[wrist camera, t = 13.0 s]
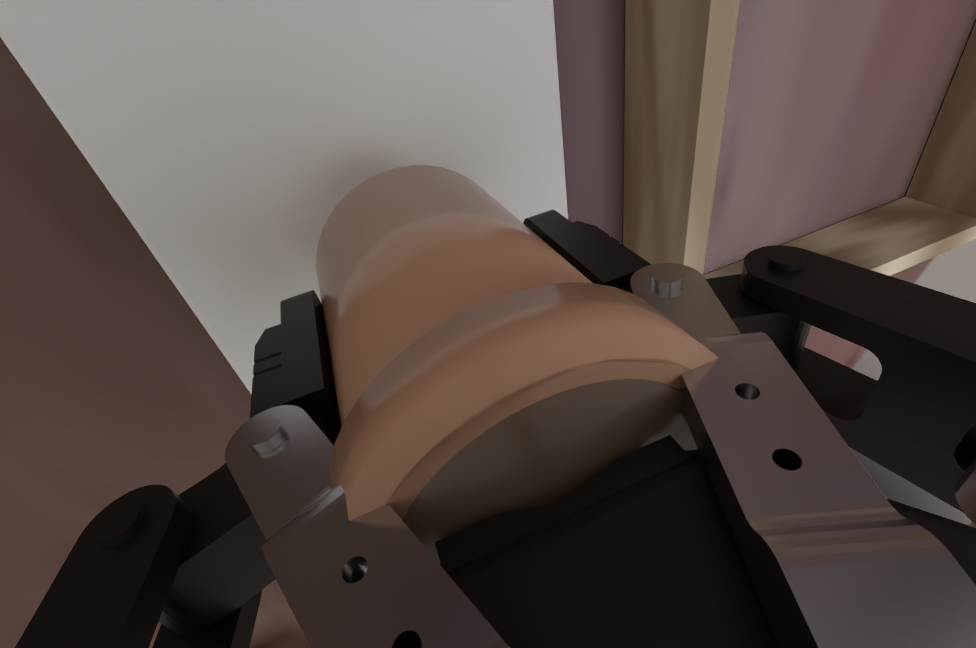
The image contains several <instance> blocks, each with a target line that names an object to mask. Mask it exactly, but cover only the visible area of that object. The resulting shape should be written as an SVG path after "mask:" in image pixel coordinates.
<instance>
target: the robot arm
mask: <svg viewBox="0 0 976 648" xmlns="http://www.w3.org/2000/svg"><path fill="white" fill-rule="evenodd" d="M523 224H524V225H526V226H527V227H528V228H529V229H530V230H531V231H533V232H534V233H535V234H536V235H537V236H538V237H540V238H541V239H542V240H543V241H544V242H545V243H547V244H548V245H549V246H550V247H551V248H552V249H554V250H555V251H556V252H557V253H558V254H559V255H561V256H562V257H563V258H564V259H565V260H566V261H568V262H569V263H570V264H571V265H572V266H573V267H575V268H576V269H577V270H578V271H579V272H580V273H582V274H583V275H584V276H585V277H586V278H587V279H589V280H590V281H591V282H592V283H595V284H600V285H606V286H611V287H616V288H619V289H621V290H624V291H627V292H630V293H632V294H635V295H637V296H638V297H640V298H642V299H643V300H645V301H646V302H648V303H650V304H651V305H653V306H654V307H655V308H656V309H658V310H659V311H660V312H661V313H663V314H664V315H665V316H667V317H668V318H669V319H670V320H672V321H673V322H674V323H676V324H677V325H678V326H679V327H681V328H682V329H683V330H684V331H686V332H687V333H688V334H690V335H691V336H692V337H693V338H695V339H696V340H697V341H699V342H700V343H701V344H702V345H704V346H705V347H706V348H708V349H709V350H710V351H711V352H713V353H714V354H715V355H716V356H717V357H718V358H717V359H715V360H713V361H710V362H708V363H706V364H703V365H701V366H699V367H697V368H694V369H692V370H690V371H688V372H685V373H683V374H682V375H681V384H680V391H681V392H682V394H683V397H682V406H681V414H682V416H683V417H684V418H685V420H686V422H687V424H688V427H689V429H690V431H691V434H692V436H693V439H694V441H695V444H696V446H697V448H698V449H694V450H686V451H685V450H684V449H683V448H682V447H681V446H680V445H679V444H678V443H677V442H676V440H675V439H674V438H673V437H672V436H671V435H668V436H666V437H664V438H661V439H659V440H657V441H655V442H653V443H650V444H648V445H646V446H644V447H642V448H640V449H637V450H635V451H633V452H631V453H629V454H626V455H624V456H622V457H620V458H618V459H616V460H615V461H614V462H612V463H611V464H610V465H609V466H608V467H606V468H605V469H604V470H603V471H602V472H600V473H599V474H598V475H597V476H596V477H594V478H593V479H592V480H591V481H590V482H588V483H587V484H586V485H585V486H584V487H582V488H581V489H580V490H579V491H578V492H576V493H575V494H574V495H573V496H571V497H570V498H568V499H566V500H564V501H561V502H556V503H551V504H545V505H540V506H535V507H530V508H525V509H519V510H514V511H509V512H504V513H498V514H495V515H493V516H491V517H489V518H487V519H484V520H482V521H480V522H478V523H476V524H474V525H471V526H469V527H467V528H465V529H463V530H460V531H458V532H456V533H454V534H452V535H449V536H447V537H445V538H443V539H441V540H439V541H436V542H435V545H436V549H437V552H438V556H439V559H440V563H438V562H437V561H436V560H435V558H434V557H433V556H432V555H431V554H430V553H429V551H428V550H427V549H426V548H425V547H424V545H423V544H422V543H421V542H420V541H419V540H418V538H417V537H416V536H415V535H414V534H413V532H412V531H411V530H410V529H409V528H408V526H407V525H406V524H405V523H404V522H403V521H402V519H401V518H400V517H399V516H398V515H397V513H396V512H395V511H394V510H393V509H392V508H391V506H390V505H389V504H386V505H384V506H381V507H379V508H377V509H375V510H372V511H370V512H368V513H366V514H363V515H361V516H359V517H357V518H354V519H352V520H350V521H349V518H348V511H347V504H346V497H345V492H344V490H343V488H342V486H340V485H337V486H336V487H335V488H333V489H332V490H331V489H330V480H329V472H328V471H329V463H330V459H331V455H332V452H333V448H334V444H335V442H336V439H337V437H338V435H339V432H340V430H341V422H340V415H339V409H338V403H337V397H336V391H335V384H334V378H333V372H332V366H331V359H330V353H329V347H328V341H327V335H326V328H325V322H324V316H323V310H322V304H321V302H320V300H319V298H318V296H317V294H316V293H315V291H314V290H311V291H308V292H305V293H303V294H300V295H297V296H294V297H291V298H288V299H285V300H282V301H281V302H280V317H281V324H279V325H276V326H273V327H270V328H267V329H265V330H264V332H263V334H262V335H261V337H260V338H259V340H258V342H257V343H256V345H255V350H254V363H255V364H254V365H253V375H254V377H253V380H252V395H251V410H250V419H249V420H248V421H247V422H245V423H244V424H243V425H242V426H241V427H240V428H239V429H238V430H237V431H236V432H235V434H234V435H233V436H232V438H231V439H230V441H229V443H228V445H227V448H226V451H225V461H226V463H225V464H224V465H223V466H222V467H221V468H219V469H218V470H217V471H215V472H214V473H212V474H211V475H209V476H208V477H206V478H205V479H203V480H201V481H200V482H198V483H197V484H195V485H194V486H192V487H191V488H189V489H188V490H186V491H184V492H183V493H181V494H180V495H178V496H177V495H176V494H175V493H174V492H173V491H172V490H171V489H170V488H168V487H166V486H163V485H149V486H144V487H141V488H138V489H135V490H133V491H131V492H129V493H127V494H125V495H123V496H121V497H120V498H118V499H117V500H115V501H113V502H112V503H111V504H109V505H108V506H107V507H106V508H104V509H103V510H102V511H101V512H100V513H99V514H98V515H97V516H96V517H95V518H94V519H93V520H92V521H91V522H90V523H89V524H88V526H87V527H86V528H85V529H84V531H83V532H82V534H81V535H80V537H79V538H78V540H77V542H76V543H75V545H74V547H73V549H72V550H71V552H70V554H69V555H68V557H67V559H66V561H65V562H64V564H63V566H62V568H61V569H60V571H59V573H58V574H57V576H56V578H55V580H54V581H53V583H52V585H51V587H50V588H49V590H48V592H47V593H46V595H45V597H44V599H43V600H42V602H41V604H40V605H39V607H38V609H37V611H36V612H35V614H34V616H33V618H32V619H31V621H30V623H29V624H28V626H27V628H26V630H25V631H24V633H23V635H22V637H21V638H20V640H19V642H18V643H17V645H16V647H15V648H149V645H150V642H151V640H152V637H153V635H154V632H155V629H156V627H157V624H158V622H160V623H161V626H160V629H159V632H158V634H157V637H156V640H155V642H154V645H153V648H249V646H250V642H251V638H252V633H253V629H254V625H255V620H256V616H257V612H258V607H259V603H260V599H261V593H262V589H263V588H265V587H266V586H267V585H268V584H270V583H271V582H272V581H274V580H275V579H276V580H277V582H278V584H279V586H280V588H281V590H282V592H283V594H284V596H285V598H286V600H287V602H288V604H289V606H290V608H291V610H292V612H293V614H294V616H295V618H296V620H297V622H298V624H299V626H300V628H301V630H302V632H303V634H304V636H305V638H306V640H307V642H308V644H309V646H310V648H976V303H973V302H970V301H967V300H963V299H960V298H957V297H954V296H951V295H948V294H945V293H941V292H938V291H935V290H932V289H929V288H925V287H922V286H919V285H916V284H913V283H910V282H907V281H904V280H901V279H897V278H894V277H891V276H888V275H885V274H882V273H879V272H875V271H872V270H869V269H866V268H863V267H860V266H857V265H853V264H850V263H847V262H844V261H841V260H838V259H834V258H831V257H828V256H825V255H822V254H819V253H816V252H812V251H809V250H806V249H802V248H798V247H793V246H767V247H762V248H758V249H756V250H753V251H751V252H750V253H749V254H747V255H746V257H745V259H744V262H743V268H742V273H741V274H736V275H729V276H722V277H716V278H709V279H705V278H704V276H703V275H702V274H701V273H700V272H699V271H697V270H695V269H694V268H691V267H689V266H686V265H682V264H677V263H657V264H652V265H651V264H650V263H649V262H647V261H646V260H644V259H643V258H641V257H640V256H638V255H637V254H636V253H634V252H633V251H631V250H630V249H628V248H627V247H625V246H624V245H623V244H619V242H618V241H617V240H615V239H614V238H612V237H609V235H608V234H607V233H605V232H604V231H602V230H601V229H599V228H598V227H597V226H594V225H590V224H586V223H583V222H579V221H577V222H574V223H572V222H570V221H569V220H568V219H566V218H565V217H564V216H562V215H561V214H560V213H558V212H557V211H555V210H553V209H552V210H549V211H546V212H543V213H540V214H537V215H534V216H531V217H528V218H526V219H525V220H524V222H523ZM811 325H813V326H815V327H817V328H820V329H822V330H824V331H827V332H829V333H831V334H834V335H836V336H838V337H841V338H843V339H845V340H848V341H850V342H852V343H855V344H857V345H859V346H862V347H864V348H866V349H868V350H869V351H871V352H872V353H873V354H875V356H876V357H877V358H878V359H879V361H880V363H881V365H882V373H881V376H880V378H879V380H878V381H877V380H874V379H872V378H870V377H868V376H865V375H863V374H861V373H859V372H857V371H855V370H853V369H850V368H848V367H846V366H844V365H842V364H840V363H838V362H835V361H833V360H831V359H829V358H827V357H825V356H822V355H820V354H818V353H816V352H814V351H812V350H810V349H807V348H805V347H804V346H805V343H806V340H807V336H808V333H809V330H810V327H811ZM849 447H850V448H852V449H854V450H856V451H857V452H859V453H861V454H863V455H864V456H866V457H868V458H870V459H871V460H873V461H875V462H877V463H878V464H880V465H882V466H883V467H885V468H887V469H889V470H891V471H892V472H894V473H896V474H897V475H899V476H901V477H903V478H904V479H906V480H908V481H910V482H911V483H913V484H915V485H916V486H918V487H920V488H922V489H923V490H925V491H927V492H929V493H930V494H932V495H934V496H936V497H937V498H939V499H941V500H942V501H944V502H946V503H948V504H949V505H951V506H953V507H955V508H956V509H958V510H960V511H962V512H963V513H965V514H966V516H967V517H968V518H969V519H970V520H971V521H972V522H971V523H970V525H969V526H968V525H965V524H962V523H959V522H956V521H953V520H950V519H947V518H944V517H941V516H938V515H935V514H932V513H929V512H926V511H923V510H920V509H917V508H914V507H910V506H907V505H905V504H901V503H898V502H896V501H892V500H889V499H886V497H885V496H884V494H883V493H882V492H881V490H880V489H879V488H878V486H877V485H876V483H875V482H874V481H873V479H872V478H871V477H870V475H869V474H868V473H867V471H866V470H865V468H864V467H863V465H862V464H861V463H860V461H859V460H858V459H857V457H856V456H855V454H854V453H853V452H852V450H851V449H850V448H849Z"/></svg>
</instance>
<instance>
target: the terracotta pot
mask: <svg viewBox="0 0 976 648" xmlns="http://www.w3.org/2000/svg"><path fill="white" fill-rule="evenodd" d="M316 270H317V278H318V285H319V291H320V297H321V303H322V310H323V316H324V322H325V328H326V335H327V341H328V347H329V353H330V359H331V366H332V372H333V378H334V384H335V391H336V397H337V403H338V409H339V415H340V422H341V430H340V432H339V435H338V437H337V439H336V442H335V444H334V448H333V452H332V455H331V459H330V463H329V471H328V472H329V480H330V489H331V490H332V489H333V488H335V487H336V486H337V485H340V486H342V488H343V490H344V492H345V497H346V504H347V511H348V518H349V521H350V520H352V519H354V518H357V517H359V516H361V515H363V514H366V513H368V512H370V511H372V510H375V509H377V508H379V507H381V506H384V505H386V504H389V505H390V506H391V508H392V509H393V510H394V511H395V512H396V513H397V515H398V516H399V517H400V518H401V519H402V521H403V522H404V523H405V524H406V525H407V526H408V528H409V529H410V530H411V531H412V532H413V534H414V535H415V536H416V537H417V538H418V540H419V541H420V542H421V543H422V544H423V545H424V547H425V548H426V549H427V550H428V551H429V553H430V554H431V555H432V556H433V557H434V558H435V560H436V561H437V562H438V563H440V559H439V556H438V552H437V549H436V545H435V542H436V541H439V540H441V539H443V538H445V537H447V536H449V535H452V534H454V533H456V532H458V531H460V530H463V529H465V528H467V527H469V526H471V525H474V524H476V523H478V522H480V521H482V520H484V519H487V518H489V517H491V516H493V515H495V514H498V513H504V512H509V511H514V510H519V509H525V508H530V507H535V506H540V505H545V504H551V503H556V502H561V501H564V500H566V499H568V498H570V497H571V496H573V495H574V494H575V493H576V492H578V491H579V490H580V489H581V488H582V487H584V486H585V485H586V484H587V483H588V482H590V481H591V480H592V479H593V478H594V477H596V476H597V475H598V474H599V473H600V472H602V471H603V470H604V469H605V468H606V467H608V466H609V465H610V464H611V463H612V462H614V461H615V460H616V459H618V458H620V457H622V456H624V455H626V454H629V453H631V452H633V451H635V450H637V449H640V448H642V447H644V446H646V445H648V444H650V443H653V442H655V441H657V440H659V439H661V438H664V437H666V436H668V435H671V436H672V437H673V438H674V439H675V440H676V442H677V443H678V444H679V445H680V446H681V447H682V448H683V449H684V450H685V451H686V450H694V449H698V448H697V446H696V444H695V441H694V439H693V436H692V434H691V431H690V429H689V427H688V424H687V422H686V420H685V418H684V417H683V416H682V414H681V406H682V397H683V394H682V392H681V391H680V384H681V375H682V374H683V373H685V372H688V371H690V370H692V369H694V368H697V367H699V366H701V365H703V364H706V363H708V362H710V361H713V360H715V359H717V358H718V357H717V356H716V355H715V354H714V353H713V352H711V351H710V350H709V349H708V348H706V347H705V346H704V345H702V344H701V343H700V342H699V341H697V340H696V339H695V338H693V337H692V336H691V335H690V334H688V333H687V332H686V331H684V330H683V329H682V328H681V327H679V326H678V325H677V324H676V323H674V322H673V321H672V320H670V319H669V318H668V317H667V316H665V315H664V314H663V313H661V312H660V311H659V310H658V309H656V308H655V307H654V306H653V305H651V304H650V303H648V302H646V301H645V300H643V299H642V298H640V297H638V296H637V295H635V294H632V293H630V292H627V291H624V290H621V289H619V288H616V287H611V286H606V285H600V284H595V283H592V282H591V281H590V280H589V279H587V278H586V277H585V276H584V275H583V274H582V273H580V272H579V271H578V270H577V269H576V268H575V267H573V266H572V265H571V264H570V263H569V262H568V261H566V260H565V259H564V258H563V257H562V256H561V255H559V254H558V253H557V252H556V251H555V250H554V249H552V248H551V247H550V246H549V245H548V244H547V243H545V242H544V241H543V240H542V239H541V238H540V237H538V236H537V235H536V234H535V233H534V232H533V231H531V230H530V229H529V228H528V227H527V226H526V225H524V224H523V223H522V222H521V221H520V220H519V219H517V218H516V217H515V216H514V215H513V214H512V213H511V212H509V211H508V210H507V209H506V208H505V207H504V206H502V205H501V204H500V203H499V202H498V201H497V200H495V199H494V198H493V197H492V196H491V195H490V194H488V193H487V192H486V191H485V190H484V189H483V188H481V187H480V186H479V185H478V184H477V183H476V182H474V181H472V180H471V179H469V178H468V177H466V176H464V175H462V174H460V173H457V172H455V171H453V170H449V169H446V168H442V167H437V166H429V165H411V166H404V167H398V168H394V169H390V170H387V171H384V172H382V173H379V174H377V175H375V176H372V177H370V178H369V179H367V180H365V181H364V182H362V183H360V184H359V185H358V186H356V187H355V188H354V189H353V190H351V191H350V192H349V193H348V194H347V195H346V196H345V197H344V198H343V199H342V200H341V201H340V202H339V203H338V204H337V206H336V207H335V208H334V210H333V211H332V213H331V214H330V215H329V217H328V219H327V221H326V223H325V225H324V227H323V230H322V233H321V235H320V238H319V242H318V247H317V253H316Z"/></svg>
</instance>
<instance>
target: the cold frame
mask: <svg viewBox="0 0 976 648" xmlns="http://www.w3.org/2000/svg"><path fill="white" fill-rule="evenodd" d="M739 5H740V0H626V11H625V105H624V200H623V245H624V246H625V247H627V248H628V249H630V250H631V251H633V252H634V253H636V254H637V255H638V256H640V257H641V258H643V259H644V260H646V261H647V262H649V263H650V264H651V265H652V264H657V263H677V264H682V265H686V266H689V267H691V268H694V269H695V270H697V271H699V272H700V273H701V274H702V275H703V270H704V263H705V255H706V248H707V241H708V233H709V226H710V219H711V211H712V204H713V196H714V189H715V182H716V174H717V167H718V160H719V152H720V145H721V138H722V130H723V123H724V116H725V108H726V101H727V93H728V86H729V79H730V71H731V64H732V57H733V49H734V42H735V35H736V27H737V20H738V13H739ZM975 239H976V22H975V25H974V27H973V30H972V32H971V35H970V37H969V40H968V42H967V45H966V47H965V50H964V52H963V55H962V57H961V60H960V62H959V65H958V67H957V70H956V72H955V75H954V77H953V79H952V82H951V84H950V87H949V89H948V92H947V94H946V97H945V99H944V102H943V104H942V107H941V109H940V112H939V114H938V117H937V119H936V122H935V124H934V127H933V129H932V132H931V134H930V136H929V139H928V141H927V144H926V146H925V149H924V151H923V154H922V156H921V159H920V161H919V164H918V166H917V169H916V171H915V174H914V176H913V179H912V181H911V184H910V186H909V189H908V191H907V194H906V196H905V197H903V198H900V199H898V200H895V201H893V202H890V203H887V204H885V205H882V206H880V207H877V208H875V209H872V210H869V211H867V212H864V213H862V214H859V215H857V216H854V217H851V218H849V219H846V220H844V221H841V222H839V223H836V224H833V225H831V226H828V227H826V228H823V229H821V230H818V231H816V232H813V233H810V234H808V235H805V236H803V237H800V238H798V239H795V240H792V241H790V242H787V243H785V244H782V245H780V246H793V247H798V248H802V249H806V250H809V251H812V252H816V253H819V254H822V255H825V256H828V257H831V258H834V259H838V260H841V261H844V262H847V263H850V264H853V265H857V266H860V267H863V268H866V269H869V270H872V271H875V272H879V273H882V274H885V275H888V276H890V275H893V274H895V273H897V272H900V271H902V270H904V269H907V268H909V267H911V266H914V265H916V264H918V263H921V262H923V261H925V260H928V259H930V258H932V257H935V256H937V255H939V254H942V253H944V252H947V251H949V250H951V249H954V248H956V247H958V246H961V245H963V244H965V243H968V242H970V241H972V240H975ZM743 262H744V260H741V261H738V262H736V263H733V264H731V265H728V266H726V267H723V268H720V269H718V270H715V271H713V272H710V273H708V274H705V275H703V276H704V278H705V279H709V278H716V277H722V276H729V275H736V274H741V273H742V268H743Z"/></svg>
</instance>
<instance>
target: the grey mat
mask: <svg viewBox="0 0 976 648" xmlns="http://www.w3.org/2000/svg"><path fill="white" fill-rule="evenodd" d="M0 37H1V39H2V40H3V41H4V43H5V44H6V46H7V47H8V49H9V50H10V51H11V53H12V54H13V56H14V57H15V59H16V60H17V61H18V63H19V64H20V66H21V67H22V68H23V70H24V71H25V73H26V74H27V76H28V77H29V78H30V80H31V81H32V83H33V84H34V86H35V87H36V88H37V90H38V91H39V93H40V94H41V96H42V97H43V98H44V100H45V101H46V103H47V104H48V106H49V107H50V108H51V110H52V111H53V113H54V114H55V115H56V117H57V118H58V120H59V121H60V123H61V124H62V125H63V127H64V128H65V130H66V131H67V133H68V134H69V135H70V137H71V138H72V140H73V141H74V143H75V144H76V145H77V147H78V148H79V150H80V151H81V153H82V154H83V155H84V157H85V158H86V160H87V161H88V162H89V164H90V165H91V167H92V168H93V170H94V171H95V172H96V174H97V175H98V177H99V178H100V180H101V181H102V182H103V184H104V185H105V187H106V188H107V190H108V191H109V192H110V194H111V195H112V197H113V198H114V200H115V201H116V202H117V204H118V205H119V207H120V208H121V210H122V211H123V212H124V214H125V215H126V217H127V218H128V219H129V221H130V222H131V224H132V225H133V227H134V228H135V229H136V231H137V232H138V234H139V235H140V237H141V238H142V239H143V241H144V242H145V244H146V245H147V247H148V248H149V249H150V251H151V252H152V254H153V255H154V257H155V258H156V259H157V261H158V262H159V264H160V265H161V266H162V268H163V269H164V271H165V272H166V274H167V275H168V276H169V278H170V279H171V281H172V282H173V284H174V285H175V286H176V288H177V289H178V291H179V292H180V294H181V295H182V296H183V298H184V299H185V301H186V302H187V304H188V305H189V306H190V308H191V309H192V311H193V312H194V313H195V315H196V316H197V318H198V319H199V321H200V322H201V323H202V325H203V326H204V328H205V329H206V331H207V332H208V333H209V335H210V336H211V338H212V339H213V341H214V342H215V343H216V345H217V346H218V348H219V349H220V351H221V352H222V353H223V355H224V356H225V358H226V359H227V360H228V362H229V363H230V365H231V366H232V368H233V369H234V370H235V372H236V373H237V375H238V376H239V378H240V379H241V380H242V382H243V383H244V385H245V386H246V388H247V389H248V390H249V392H250V393H251V395H252V380H253V377H254V375H253V365H254V364H255V363H254V350H255V345H256V343H257V342H258V340H259V338H260V337H261V335H262V334H263V332H264V330H265V329H267V328H270V327H273V326H276V325H279V324H281V317H280V302H281V301H282V300H285V299H288V298H291V297H294V296H297V295H300V294H303V293H305V292H308V291H311V290H314V291H315V293H316V294H317V296H318V298H319V300H320V302H321V297H320V291H319V285H318V278H317V270H316V253H317V247H318V242H319V238H320V235H321V233H322V230H323V227H324V225H325V223H326V221H327V219H328V217H329V215H330V214H331V213H332V211H333V210H334V208H335V207H336V206H337V204H338V203H339V202H340V201H341V200H342V199H343V198H344V197H345V196H346V195H347V194H348V193H349V192H350V191H351V190H353V189H354V188H355V187H356V186H358V185H359V184H360V183H362V182H364V181H365V180H367V179H369V178H370V177H372V176H375V175H377V174H379V173H382V172H384V171H387V170H390V169H394V168H398V167H404V166H411V165H429V166H437V167H442V168H446V169H449V170H453V171H455V172H457V173H460V174H462V175H464V176H466V177H468V178H469V179H471V180H472V181H474V182H476V183H477V184H478V185H479V186H480V187H481V188H483V189H484V190H485V191H486V192H487V193H488V194H490V195H491V196H492V197H493V198H494V199H495V200H497V201H498V202H499V203H500V204H501V205H502V206H504V207H505V208H506V209H507V210H508V211H509V212H511V213H512V214H513V215H514V216H515V217H516V218H517V219H519V220H520V221H521V222H522V223H523V222H524V220H525V219H526V218H528V217H531V216H534V215H537V214H540V213H543V212H546V211H549V210H552V209H553V210H555V211H557V212H558V213H560V214H561V215H562V216H564V217H565V218H566V219H568V212H567V197H566V183H565V168H564V154H563V139H562V125H561V110H560V96H559V81H558V67H557V52H556V38H555V23H554V9H553V0H0ZM321 304H322V303H321Z"/></svg>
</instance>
